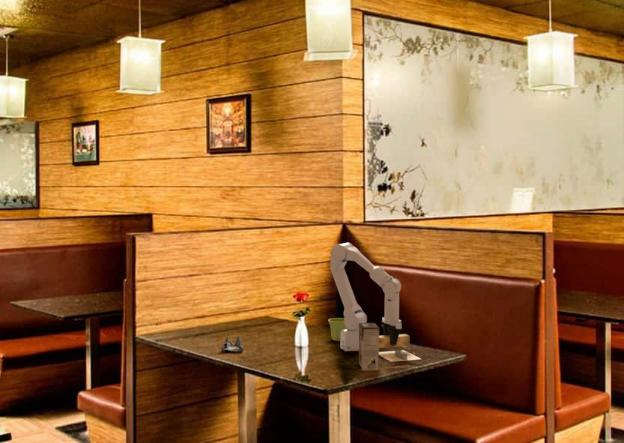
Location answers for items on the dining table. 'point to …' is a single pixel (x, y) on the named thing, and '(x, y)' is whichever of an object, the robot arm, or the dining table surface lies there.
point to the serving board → (391, 357)
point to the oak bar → (402, 341)
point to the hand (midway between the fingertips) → (391, 343)
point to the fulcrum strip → (400, 354)
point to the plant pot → (337, 327)
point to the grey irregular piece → (233, 345)
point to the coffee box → (368, 346)
